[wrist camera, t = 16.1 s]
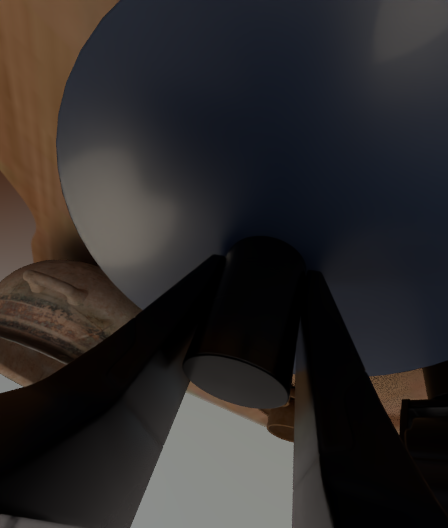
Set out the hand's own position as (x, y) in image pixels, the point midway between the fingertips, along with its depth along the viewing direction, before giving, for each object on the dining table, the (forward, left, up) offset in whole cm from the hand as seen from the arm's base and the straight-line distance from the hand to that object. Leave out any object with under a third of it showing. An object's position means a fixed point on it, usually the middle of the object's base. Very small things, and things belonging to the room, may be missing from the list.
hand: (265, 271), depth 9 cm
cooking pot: (-20, +20, -12) cm, 31 cm away
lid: (0, 0, -1) cm, 1 cm away
